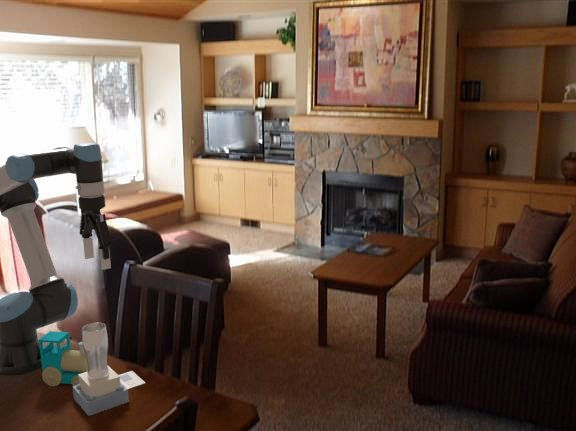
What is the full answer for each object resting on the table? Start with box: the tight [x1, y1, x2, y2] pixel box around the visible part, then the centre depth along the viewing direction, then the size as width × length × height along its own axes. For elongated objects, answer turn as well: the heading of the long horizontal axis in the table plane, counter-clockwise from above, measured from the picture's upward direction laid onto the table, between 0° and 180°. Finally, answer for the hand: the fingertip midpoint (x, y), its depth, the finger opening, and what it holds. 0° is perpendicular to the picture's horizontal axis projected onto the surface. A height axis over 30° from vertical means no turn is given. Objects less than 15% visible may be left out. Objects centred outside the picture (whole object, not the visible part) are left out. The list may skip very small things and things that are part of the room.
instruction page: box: [118, 370, 146, 390], centre depth 193 cm, size 10×7×1 cm
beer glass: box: [81, 322, 109, 380], centre depth 178 cm, size 7×7×15 cm
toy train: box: [38, 330, 88, 387], centre depth 192 cm, size 8×17×15 cm, turn 80°
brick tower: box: [72, 364, 130, 417], centre depth 181 cm, size 12×12×8 cm
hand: (97, 263), depth 189 cm, fingers open, 13 cm apart
